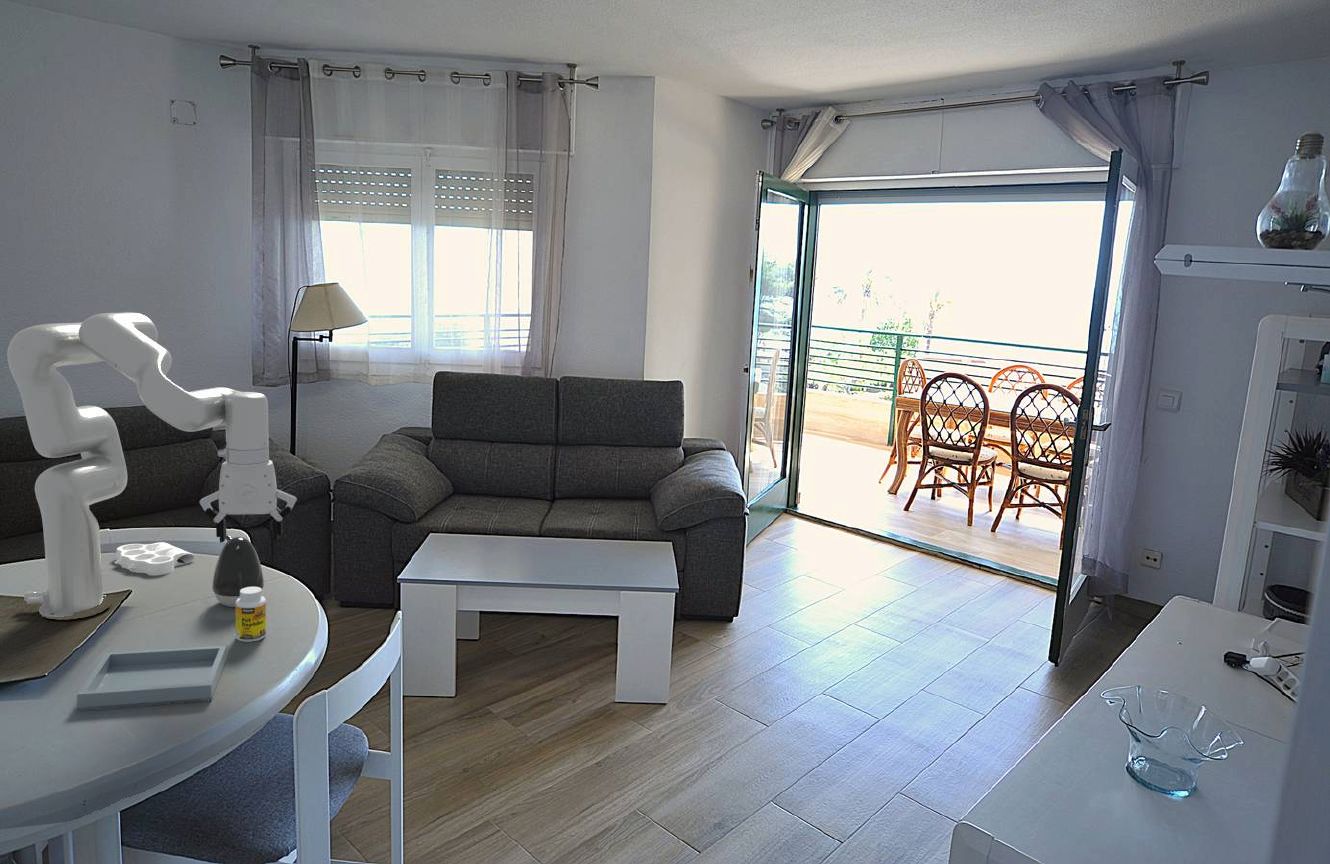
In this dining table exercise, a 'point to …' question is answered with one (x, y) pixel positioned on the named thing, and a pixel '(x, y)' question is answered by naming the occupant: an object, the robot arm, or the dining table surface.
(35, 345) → the robot arm
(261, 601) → the supplement bottle
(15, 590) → the dining table surface
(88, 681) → the tray
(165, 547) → the white multi-hole holder
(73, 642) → the dining table surface
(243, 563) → the black egg-shaped figure
